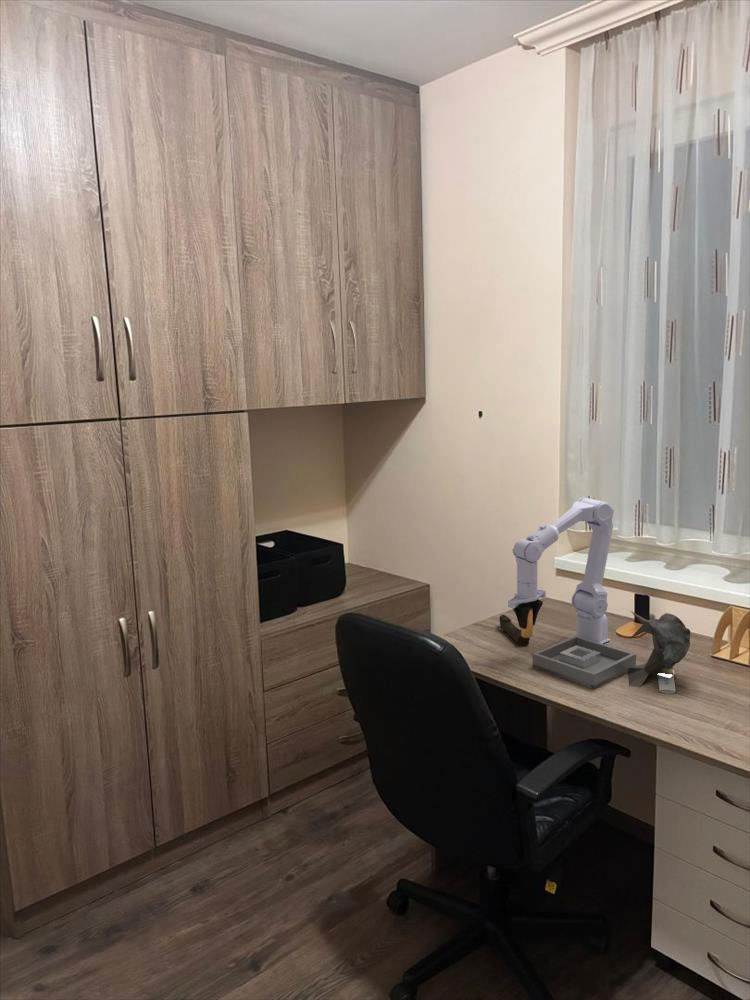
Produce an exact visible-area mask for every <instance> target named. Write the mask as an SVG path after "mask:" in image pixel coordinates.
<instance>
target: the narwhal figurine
mask: <svg viewBox="0 0 750 1000" xmlns="http://www.w3.org/2000/svg"><path fill="white" fill-rule="evenodd" d="M630 612H631V613H632V615H634V617H636V619H637V620H638V621H639V622H640V623H641V624H642V625H641V626H640V627H639V628H638V629H637V630H636V631H635V632H634V633H633V634H632V636H631V637H630V638H629V640H630V639H632V638H635V637H636V636H639V635H641V634H643V633H647V634H650V635H651V636H652V644H653V650H652V651H651V654H650V655H649V657H648V660H647V662H646V663H643V664H637V665H636V666H633V667H629V668H628V672H627V676H628V677H627V678H628V686H629V687H638V688H640V687H642V685H643V683H644V682H645V681H646V680H647V678H648V676H655V677H658V676H657V674H658V673H665V674H672V675H673V676H674V666H675V665H677V664H679V663H680V662H681V661H682V660H684V658H685V657H686V655H687V653H688V651H689V648H690V647H691V646H690V645H691V642H690V641H691V630H690V629H689V628H687V626H686V624H684V621H682V620H681V619H680V618H679V617H678V616H676V615H675V614H672V613H668V612H666V613H663V614H662V615H661V616H660V617H659V618H658V619H657V618H654V619H650V620H648V619H646V618H644V617H642V616H640V615H638V614H637V613H635V612H634V611H631V610H630Z"/></svg>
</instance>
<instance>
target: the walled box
mask: <svg viewBox="0 0 750 1000" xmlns="http://www.w3.org/2000/svg"><path fill="white" fill-rule="evenodd" d="M576 645H577V646H581V647H584V648H587V649H590V650H593V651H597V652H600V653H601V658H600V662H598V663H595V664H593V665H591V666H589V667H587V668H585V669H582V668H579V667H576V666H573V665H570V664H567V663H564V662H561V661H560V652H562V651H565V650H567V649H569V648H571V647H574V646H576ZM633 666H637V654H636V653H634V652H632V651H631V652H630V651H627V650H624V649H621V648H618V647H613V646H611V645H608V644H605V643H604V644H601V643H598V642H595V641H591V640H588V639H585V638H581V637H578V636H577V635H573V636H571V637H569V638H567V639H564V640H562V641H559V642H557V643H555V644H552V645H550V646H548V647H545V648H543V649H541V650H539V651H536V652H534V653H532V668H533V669H537V670H540V671H542V672H544V673H548V674H551V675H554V676H556V677H560V678H561V679H564V680H566V681H567V680H568V681H570V682H573V683H575V684H578V685H581V686H584V687H587V688H589V689H592V690H595V689H597V688H599V687H601V686H603V685H605V684H607V683H608V682H611V681H613V680H615V679H616V678H619V677H621V676H623V675H624V674H626V673H628V668H629V667H633Z"/></svg>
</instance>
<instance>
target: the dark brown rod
mask: <svg viewBox="0 0 750 1000" xmlns="http://www.w3.org/2000/svg"><path fill="white" fill-rule="evenodd" d="M499 626H500V629H501V631H502V632H503V633H506V634H507V635H508V636H510V637H511V638H512V640H513V641H515V642H516V643H517V647H527V646H528V645H529V644H530V638H524V637H522V636H521V629H520V628H519V627H517V626H516V625H515V624H514V623H513V622H512V619H511V618H509V616H507V615H505V614H501V615H499Z"/></svg>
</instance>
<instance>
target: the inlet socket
mask: <svg viewBox="0 0 750 1000" xmlns="http://www.w3.org/2000/svg"><path fill="white" fill-rule="evenodd" d="M600 658H601V653H600V652H597V651H593V650H590V649H587V648H584V647H581V646H577V645H576V646H574V647H571V648H569V649H567V650H565V651H562V652H560V661H561V662H564V663H567V664H570V665H573V666H576V667H579V668H582V669H585V668H587V667H589V666H591V665H593V664H595V663H598V662H600Z"/></svg>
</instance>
